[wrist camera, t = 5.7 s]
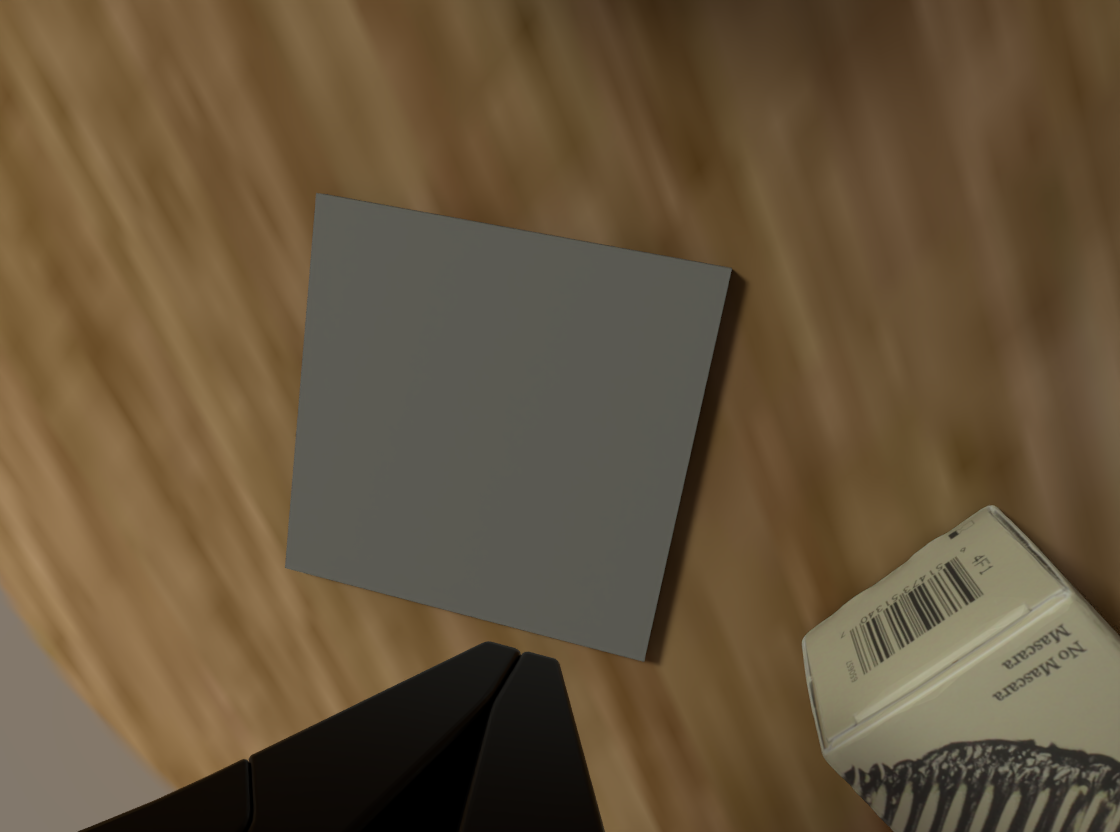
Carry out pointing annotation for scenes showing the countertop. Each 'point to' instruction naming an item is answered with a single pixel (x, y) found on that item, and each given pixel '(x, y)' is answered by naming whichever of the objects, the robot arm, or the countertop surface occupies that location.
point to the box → (972, 691)
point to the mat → (497, 418)
